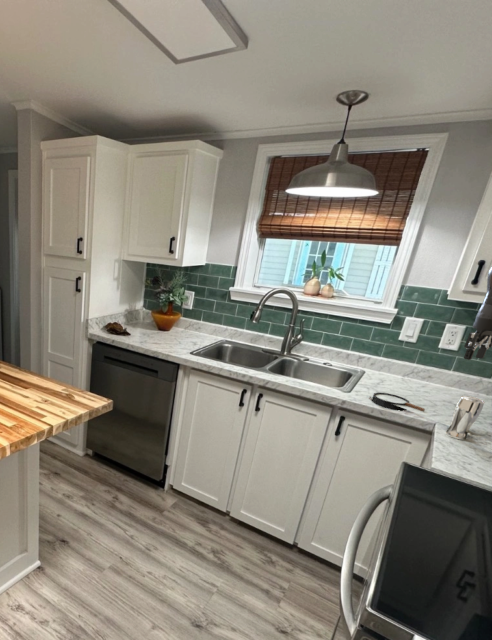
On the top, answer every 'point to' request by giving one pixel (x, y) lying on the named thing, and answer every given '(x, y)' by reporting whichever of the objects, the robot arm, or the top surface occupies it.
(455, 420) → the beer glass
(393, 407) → the frying pan
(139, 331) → the top surface
